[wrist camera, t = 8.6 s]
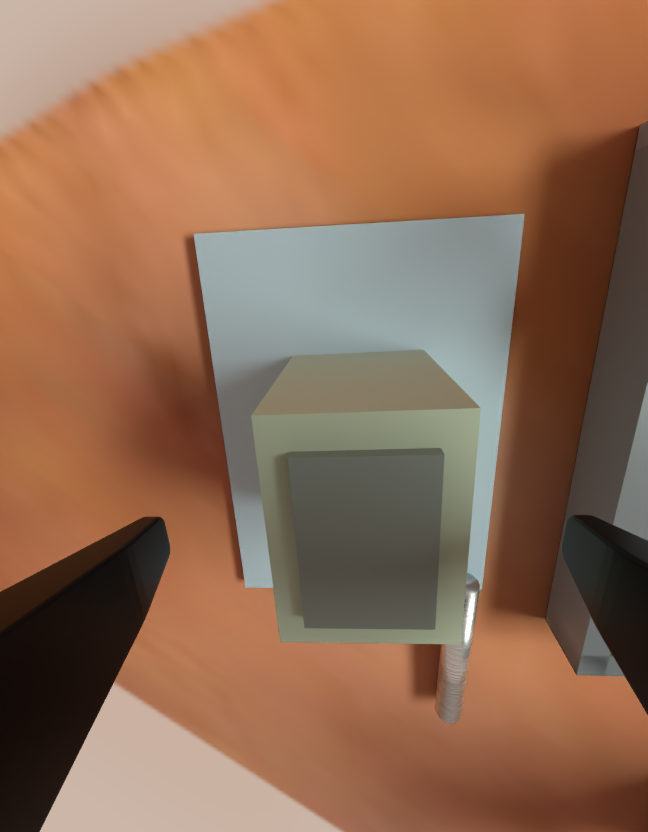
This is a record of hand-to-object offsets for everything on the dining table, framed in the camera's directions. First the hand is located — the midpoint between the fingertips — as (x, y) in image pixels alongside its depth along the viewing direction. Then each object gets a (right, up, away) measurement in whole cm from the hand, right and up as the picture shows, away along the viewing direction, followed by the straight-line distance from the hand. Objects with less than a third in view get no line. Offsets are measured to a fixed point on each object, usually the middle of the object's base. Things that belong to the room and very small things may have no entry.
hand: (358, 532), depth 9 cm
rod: (+5, -7, +9) cm, 12 cm away
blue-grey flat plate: (0, +2, +6) cm, 6 cm away
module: (+1, +2, +5) cm, 6 cm away
